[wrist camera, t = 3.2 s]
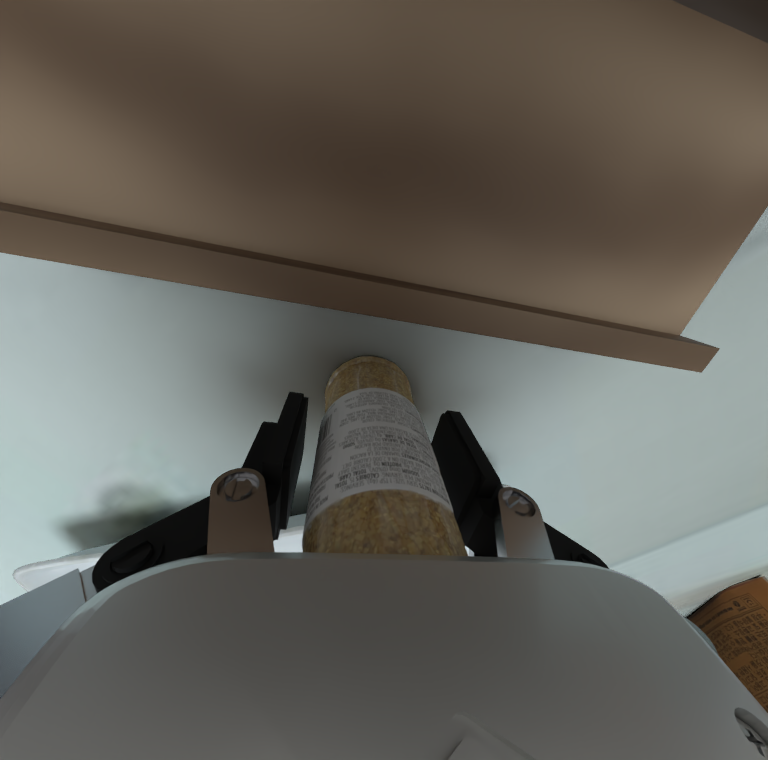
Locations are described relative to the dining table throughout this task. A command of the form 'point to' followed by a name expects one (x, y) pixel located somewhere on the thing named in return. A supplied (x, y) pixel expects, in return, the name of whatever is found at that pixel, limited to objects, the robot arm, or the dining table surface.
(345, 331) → the dining table surface
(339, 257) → the spice rack
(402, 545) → the sprinkles bottle
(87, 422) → the dining table surface
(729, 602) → the pancake mix bag
